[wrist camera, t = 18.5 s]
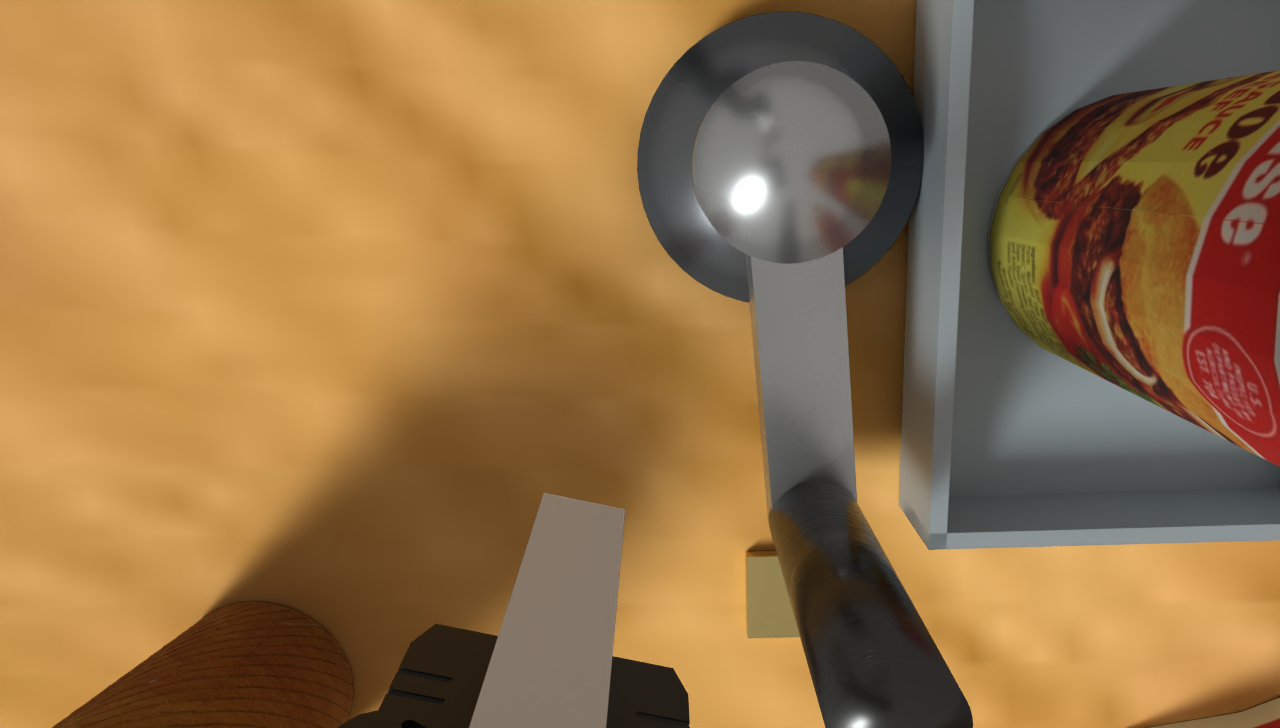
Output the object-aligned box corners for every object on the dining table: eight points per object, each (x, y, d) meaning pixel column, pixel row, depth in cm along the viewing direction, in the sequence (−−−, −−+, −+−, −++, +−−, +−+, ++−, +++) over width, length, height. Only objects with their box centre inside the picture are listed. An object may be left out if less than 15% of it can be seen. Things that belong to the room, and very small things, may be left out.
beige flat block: (745, 551, 27) (746, 557, 27) (805, 549, 27) (808, 555, 27) (746, 631, 28) (747, 638, 28) (805, 630, 28) (807, 636, 28)
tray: (918, -67, 23) (958, -102, 20) (1369, -93, 22) (1481, -132, 19) (898, 505, 27) (928, 549, 24) (1277, 494, 26) (1357, 538, 23)
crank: (681, 81, 22) (696, 17, 12) (867, 58, 22) (1041, -27, 12) (727, 543, 26) (769, 799, 15) (889, 528, 25) (1040, 779, 15)
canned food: (1247, 54, 22) (1870, -62, 11) (1279, 324, 24) (1847, 475, 13) (961, 139, 23) (1256, 116, 12) (1013, 395, 25) (1313, 599, 13)
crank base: (632, 26, 23) (630, 19, 22) (916, 11, 23) (929, 3, 22) (644, 302, 25) (643, 310, 24) (906, 292, 25) (918, 299, 24)
